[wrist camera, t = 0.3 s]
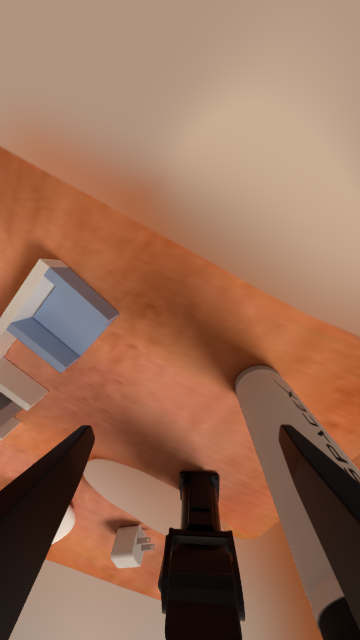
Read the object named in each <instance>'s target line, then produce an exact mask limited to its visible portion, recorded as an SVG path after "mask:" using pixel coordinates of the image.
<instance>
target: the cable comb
mask: <svg viewBox="0 0 360 640" xmlns="http://www.w3.org/2000/svg"><path fill="white" fill-rule="evenodd" d="M54 287H55V288H54ZM53 288H54V289H53ZM52 290H53V291H52ZM51 291H52V292H51ZM49 294H50V295H49ZM48 295H49V296H48ZM46 298H47V299H46ZM45 299H46V300H45ZM43 302H44V303H43ZM42 303H43V304H42ZM41 305H42V306H41ZM40 306H41V307H40ZM38 309H39V310H38ZM37 310H38V311H37ZM35 313H36V314H35ZM34 314H35V315H34ZM119 314H120V313H118V312H117V311H116V310H115V309H114V308H113V307H112V306H111V305H110V304H109V303H107V302H106V301H105V300H104V299H103V298H102V297H101V296H100V295H99V294H98V293H96V292H95V291H94V290H93V289H92V288H91V287H90V286H89V285H88V284H87V283H86V282H84V281H83V280H82V279H81V278H80V277H79V276H78V275H77V274H76V273H75V272H73V271H72V270H71V269H70V268H69V267H68V266H67V265H66V264H65V263H64V262H62V261H61V260H53V259H39V260H38V262H37V263H36V265H35V266H34V268H33V269H32V271H31V272H30V274H29V275H28V277H27V278H26V280H25V281H24V283H23V284H22V286H21V287H20V289H19V290H18V292H17V293H16V295H15V296H14V298H13V299H12V301H11V302H10V304H9V305H8V307H7V308H6V310H5V311H4V313H3V314H2V316H1V317H0V392H1V393H3V394H4V395H5V396H7V397H8V398H10V399H11V400H12V401H14V402H15V403H16V404H18V405H19V406H21V407H22V408H23V409H25V410H26V411H28V410H29V409H30V408H31V407H32V406H34V405H35V404H36V403H37V402H38V401H39V400H41V399H42V398H43V397H44V396H45V395H46V394H47V393H48V392H49V391H48V390H46V389H45V388H44V387H42V386H41V385H40V384H38V383H37V382H36V381H35V380H33V379H32V378H31V377H29V376H28V375H27V374H25V373H24V372H23V371H21V370H20V369H19V368H17V367H16V366H15V365H14V364H12V363H11V362H10V361H8V360H7V359H6V358H4V355H5V354H6V353H7V351H8V350H9V348H10V347H11V346H12V344H13V343H14V342H15V340H16V339H18V340H20V341H21V342H22V343H23V344H25V345H26V346H27V347H28V348H30V349H31V350H32V351H33V352H35V353H36V354H37V355H38V356H40V357H41V358H42V359H44V360H45V361H46V362H47V363H49V364H50V365H51V366H52V367H54V368H55V369H56V370H57V371H59V372H60V373H62V372H63V371H64V370H66V369H67V368H68V367H70V366H71V365H72V364H73V363H75V362H76V361H77V360H78V359H79V358H80V357H81V355H82V354H83V353H84V352H85V351H86V350H87V349H88V348H89V347H90V346H91V344H92V343H93V342H94V341H95V340H96V339H97V338H98V337H99V336H100V335H101V333H102V332H103V331H104V330H105V329H106V328H107V327H108V326H109V325H110V324H111V322H112V321H113V320H114V319H115V318H116V317H117V316H118V315H119ZM20 423H21V421H20V420H18V419H17V418H16V417H14V416H13V417H12V418H11V419H10V420H8V421H7V422H6V423H5V424H3V425H2V426H1V427H0V441H1V440H2V439H3V438H4V437H6V436H7V435H8V434H9V433H10V432H11V431H12V430H13V429H14V428H16V427H17V426H18V425H19V424H20Z"/></svg>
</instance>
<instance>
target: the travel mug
mask: <svg viewBox="0 0 360 640" xmlns="http://www.w3.org/2000/svg"><path fill="white" fill-rule="evenodd" d="M235 392H236V395H237V398H238V401H239V404H240V407H241V410H242V412H243V415H244V418H245V421H246V424H247V427H248V430H249V432H250V435H251V438H252V441H253V444H254V447H255V450H256V452H257V455H258V458H259V461H260V464H261V467H262V470H263V472H264V475H265V478H266V481H267V484H268V487H269V490H270V492H271V495H272V498H273V501H274V504H275V507H276V510H277V513H278V515H279V518H280V521H281V524H282V526H283V530H284V533H285V535H286V538H287V541H288V544H289V546H290V550H291V553H292V555H293V558H294V561H295V564H296V567H297V569H298V572H299V575H300V578H301V581H302V584H303V587H304V590H305V593H306V595H307V598H308V599H309V601H310V602H311V607H312V611H313V615H314V618H315V621H316V624H317V627H318V629H319V631H320V632H321V635H322V637H323V640H360V630H359V627H358V625H357V623H356V621H355V619H354V616H353V614H352V612H351V610H350V608H349V605H348V603H347V601H346V599H345V596H344V594H343V592H342V590H341V588H340V585H339V583H338V581H337V579H336V577H335V574H334V572H333V570H332V568H331V566H330V563H329V561H328V559H327V557H326V554H325V552H324V550H323V548H322V546H321V543H320V541H319V539H318V537H317V535H316V532H315V530H314V528H313V526H312V523H311V521H310V519H309V517H308V515H307V512H306V510H305V508H304V506H303V504H302V501H301V499H300V497H299V495H298V492H297V490H296V488H295V485H294V483H293V480H292V477H291V475H290V472H289V469H288V466H287V463H286V461H285V458H284V455H283V452H282V449H281V446H280V444H279V429H280V425H281V424H290V425H292V426H293V427H294V428H295V429H296V430H298V431H299V432H300V433H301V434H302V435H304V436H305V437H306V438H307V439H308V440H309V441H311V442H312V443H313V444H314V445H315V446H317V447H318V448H319V449H320V450H321V451H322V452H324V453H325V454H326V455H327V456H328V457H329V458H331V459H332V460H333V461H334V462H335V463H337V464H338V465H339V466H340V467H341V468H342V469H344V470H345V471H346V472H347V473H348V474H350V475H351V476H352V477H353V478H354V479H355V480H357V481H358V482H359V483H360V471H359V470H358V468H357V467H356V466H355V465H354V464H353V462H352V461H351V460H350V459H349V458H348V456H347V455H346V454H345V453H344V452H343V450H342V449H341V448H340V447H339V446H338V444H337V443H336V442H335V441H334V439H333V438H332V437H331V436H330V435H329V433H328V432H327V431H326V430H325V429H324V427H323V426H322V425H321V424H320V423H319V421H318V420H317V419H316V418H315V417H314V415H313V414H312V413H311V412H310V411H309V409H308V408H307V407H306V406H305V404H304V403H303V402H302V401H301V400H300V398H299V397H298V396H297V395H296V394H295V392H294V391H293V390H292V389H291V388H290V386H289V385H288V384H287V383H286V382H285V380H284V379H283V378H282V377H281V376H280V374H279V373H278V372H277V371H276V370H274V369H273V368H271V367H268V366H262V365H259V366H252V367H249V368H247V369H245V370H244V371H242V372H241V373H240V374H239V376H238V377H237V379H236V381H235Z"/></svg>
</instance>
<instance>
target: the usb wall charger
mask: <svg viewBox="0 0 360 640" xmlns="http://www.w3.org/2000/svg"><path fill="white" fill-rule="evenodd" d="M148 539H149V542H147V540H148ZM150 539H151V538H150V537H146V535H145V533H144V532H143V530H142V528H141V527H140V525H136V526H128V527H120V528H119V529H118V531H117V535H116V538H115V541H114V545H113V548H112V552H111V560H112V561H113V562H114V564H115V565H116V567H117V568H128V567H140V566H141V563H142V558H143V552H144V551H150V550H154V546H155V544H147V543H150ZM145 544H146V545H145ZM152 545H153V549H151V547H152Z"/></svg>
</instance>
